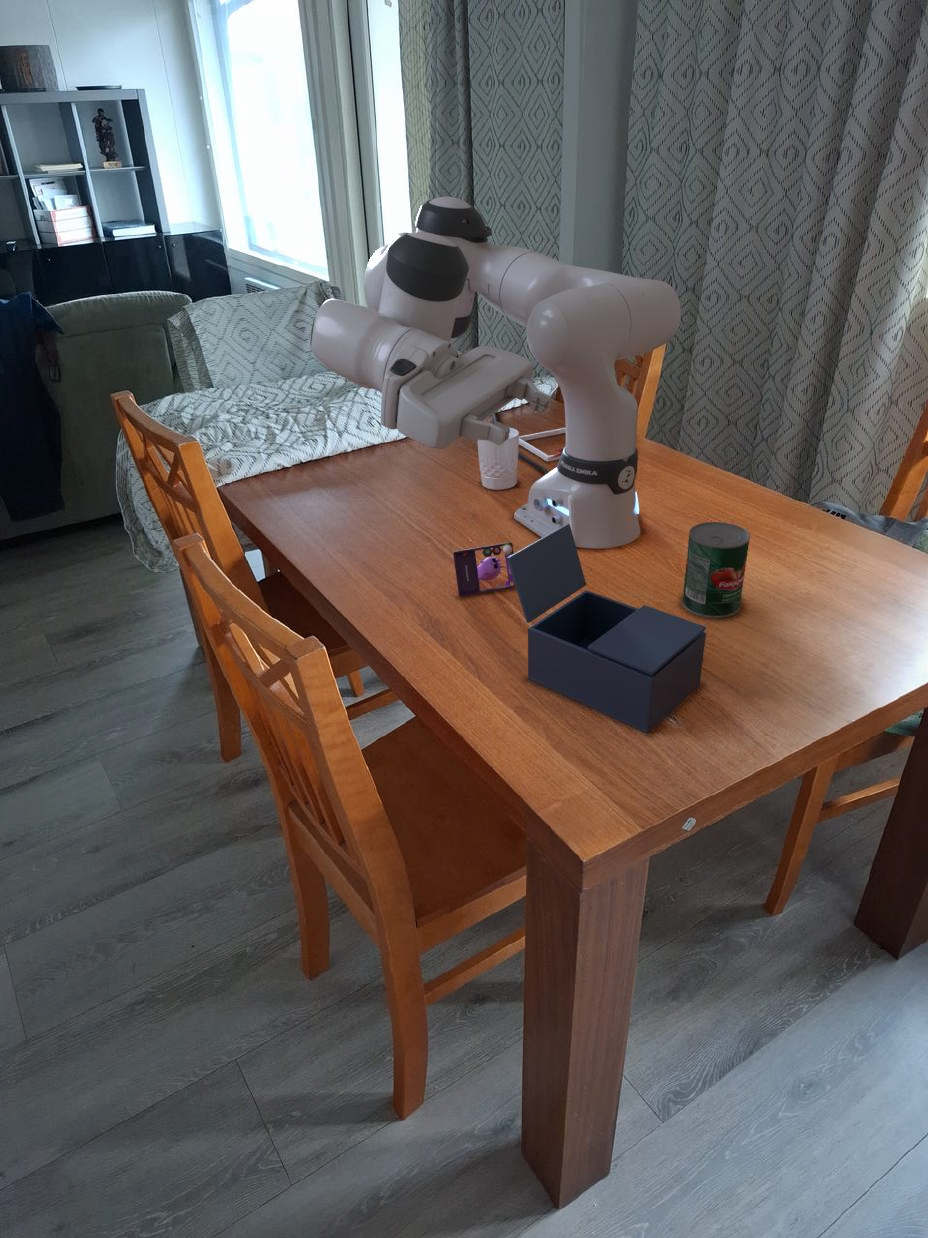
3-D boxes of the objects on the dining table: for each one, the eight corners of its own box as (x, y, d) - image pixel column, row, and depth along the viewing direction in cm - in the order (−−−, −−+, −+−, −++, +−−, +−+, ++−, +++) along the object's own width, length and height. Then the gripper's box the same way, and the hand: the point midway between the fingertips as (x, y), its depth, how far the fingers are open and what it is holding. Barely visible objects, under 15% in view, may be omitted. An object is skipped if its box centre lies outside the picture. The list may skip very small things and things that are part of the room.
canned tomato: (691, 586, 121) (699, 517, 115) (746, 598, 117) (756, 527, 112) (674, 611, 115) (681, 539, 109) (731, 624, 111) (741, 550, 106)
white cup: (526, 480, 160) (526, 429, 155) (506, 494, 154) (505, 442, 149) (492, 473, 164) (490, 424, 159) (470, 487, 158) (468, 436, 153)
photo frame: (622, 440, 173) (547, 456, 167) (622, 446, 174) (547, 461, 168) (586, 422, 185) (514, 436, 179) (586, 427, 185) (514, 441, 179)
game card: (454, 552, 119) (513, 542, 121) (446, 549, 124) (503, 539, 126) (460, 597, 120) (519, 587, 122) (452, 592, 125) (509, 583, 127)
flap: (528, 623, 98) (526, 623, 98) (586, 585, 106) (584, 585, 106) (509, 557, 96) (506, 557, 96) (569, 523, 103) (567, 523, 104)
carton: (527, 679, 102) (527, 622, 98) (584, 638, 110) (585, 584, 106) (647, 734, 92) (652, 672, 88) (700, 685, 100) (707, 626, 96)
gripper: (469, 369, 106) (563, 411, 101) (372, 431, 92) (475, 481, 88) (477, 322, 101) (575, 363, 97) (375, 379, 88) (484, 430, 84)
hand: (527, 420), depth 92 cm, fingers open, 8 cm apart
